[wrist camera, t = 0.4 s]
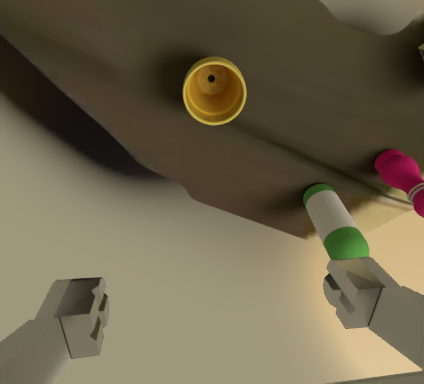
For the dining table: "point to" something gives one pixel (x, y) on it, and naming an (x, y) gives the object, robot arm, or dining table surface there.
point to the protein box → (421, 50)
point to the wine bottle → (334, 223)
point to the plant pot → (214, 91)
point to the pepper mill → (402, 176)
